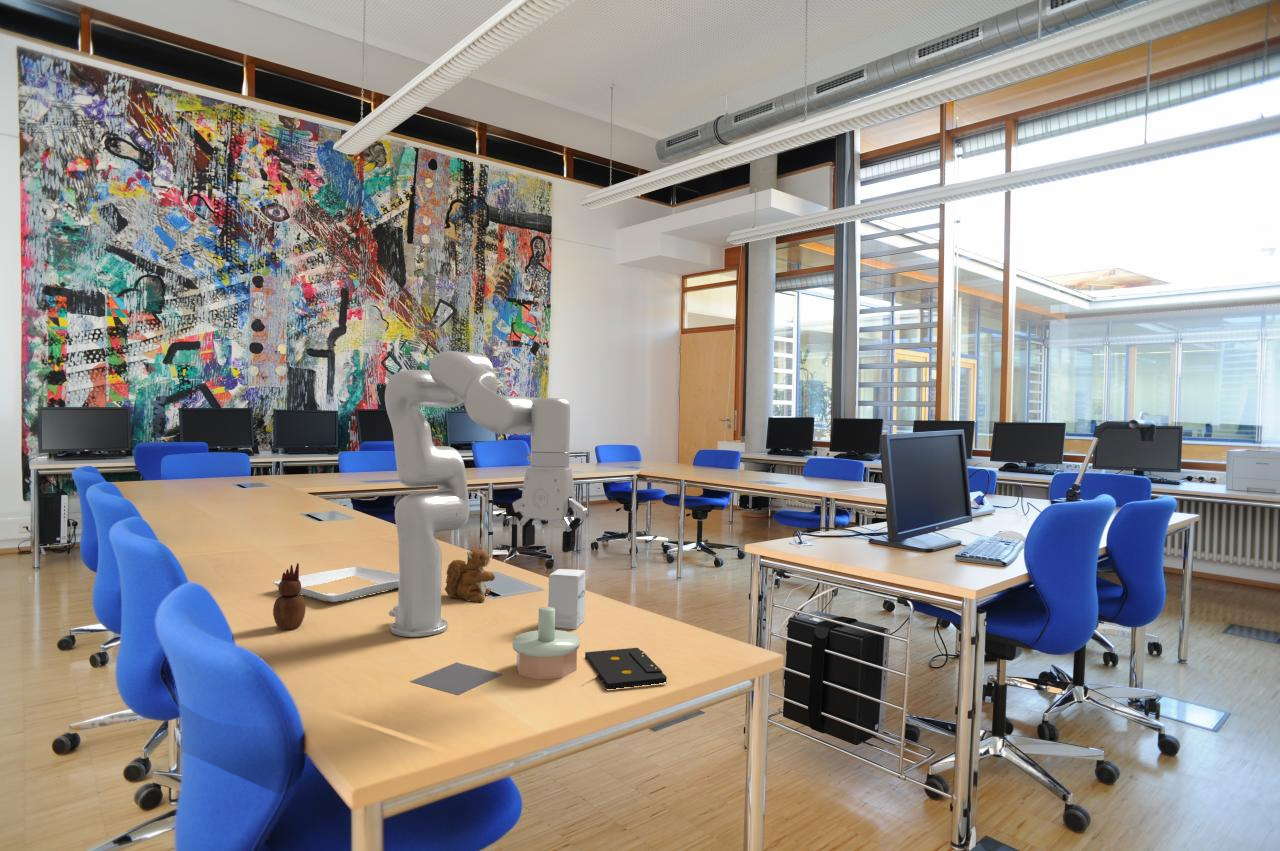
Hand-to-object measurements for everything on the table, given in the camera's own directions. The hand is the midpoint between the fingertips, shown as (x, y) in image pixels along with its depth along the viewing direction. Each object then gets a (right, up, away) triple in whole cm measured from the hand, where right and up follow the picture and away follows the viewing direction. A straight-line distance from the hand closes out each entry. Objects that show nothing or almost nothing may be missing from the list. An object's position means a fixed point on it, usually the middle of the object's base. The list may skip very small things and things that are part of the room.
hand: (548, 548), depth 139 cm
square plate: (-65, -23, +61) cm, 92 cm away
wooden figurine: (-63, -23, +25) cm, 72 cm away
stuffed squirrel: (-29, -23, +56) cm, 67 cm away
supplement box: (0, -24, +32) cm, 40 cm away
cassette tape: (+15, -25, +1) cm, 29 cm away
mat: (-16, -24, -6) cm, 29 cm away
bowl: (0, -24, 0) cm, 24 cm away
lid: (0, -19, 0) cm, 19 cm away
